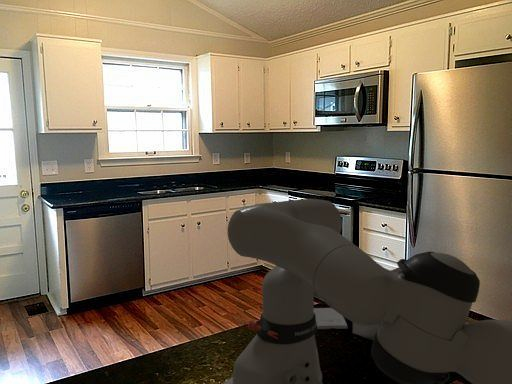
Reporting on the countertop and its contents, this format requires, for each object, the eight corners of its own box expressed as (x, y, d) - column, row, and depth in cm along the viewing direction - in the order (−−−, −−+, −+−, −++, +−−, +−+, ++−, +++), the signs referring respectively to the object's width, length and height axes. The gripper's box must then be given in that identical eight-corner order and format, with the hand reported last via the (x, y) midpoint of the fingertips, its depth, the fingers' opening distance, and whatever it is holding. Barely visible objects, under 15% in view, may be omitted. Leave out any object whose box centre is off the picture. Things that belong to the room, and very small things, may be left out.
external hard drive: (339, 312, 132) (347, 330, 119) (312, 313, 132) (317, 331, 119) (339, 307, 131) (347, 324, 119) (312, 308, 131) (317, 325, 119)
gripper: (541, 385, 85) (468, 360, 96) (569, 350, 99) (503, 331, 109) (542, 355, 85) (469, 333, 95) (571, 323, 98) (504, 307, 108)
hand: (487, 331), depth 102 cm, fingers open, 8 cm apart
